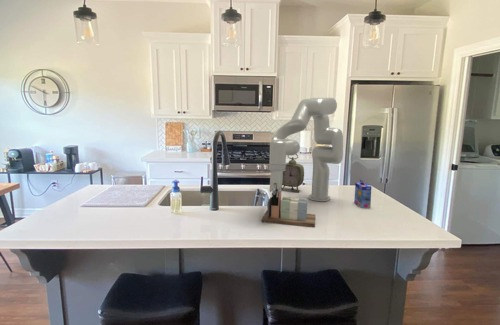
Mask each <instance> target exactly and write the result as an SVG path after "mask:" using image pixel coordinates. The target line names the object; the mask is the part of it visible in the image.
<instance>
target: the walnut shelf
mask: <svg viewBox="0 0 500 325" xmlns="http://www.w3.org/2000/svg"><path fill="white" fill-rule="evenodd" d="M271 197H272V196H271ZM271 197H269V199H268V201H267V204H266V205H267V209H266V211H265V213H264V214H263V216H262V218H261V223H269V224H278V225H280V224H281V225H287V226H288V225H289V226H297V227H299V226H300V227H306V228H307V227H309V228H316V214H311V213H308V198H303V197H299V198H292V197H291V196H289V197H288V196H282V197H281V213H280V216H279V218H274V217H271V208H272V205H271Z"/></svg>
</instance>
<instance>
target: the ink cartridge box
mask: <svg viewBox="0 0 500 325" xmlns="http://www.w3.org/2000/svg"><path fill="white" fill-rule="evenodd" d="M354 184H355V185H354V201H353V202H354V204H355V205H356V206H358V207H359V208H360V209H370V208H371V205H372V204H371V202H372V201H371V200H372V185H370V184H367V183H366V182H364V181H363V180H362V179H359V181H358V182H356V181H355V183H354Z"/></svg>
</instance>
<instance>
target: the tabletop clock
mask: <svg viewBox="0 0 500 325" xmlns="http://www.w3.org/2000/svg"><path fill="white" fill-rule="evenodd" d="M294 156H296V157H295V158H294ZM294 156H292V157H290V156H287V158H288V159H289V161H288V163H287V162H286V167H285V171H283V182H282V189H281V191H283V190H284V189H285V187H289V188H291V189H290V190H292V191H293V190H294V188H296V192H297V193H299V192H300V190H299V187H300V186H301V185H303V183H304V179H305V169H304V165H302V164H300V163H297V161H296V160H297V159H299V155H298V153H297V154H295V155H294Z"/></svg>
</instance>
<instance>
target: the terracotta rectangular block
mask: <svg viewBox="0 0 500 325" xmlns="http://www.w3.org/2000/svg"><path fill="white" fill-rule="evenodd" d="M278 197H279V199H278V206H272V208H271V217H274V218H279V216H280V213H281V200H282V190H281V191H280V192H278Z"/></svg>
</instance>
